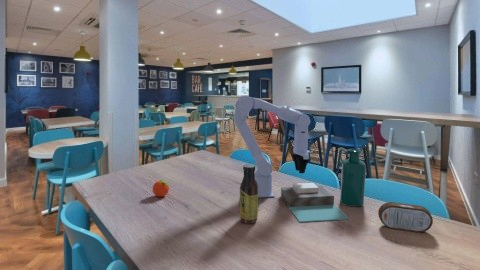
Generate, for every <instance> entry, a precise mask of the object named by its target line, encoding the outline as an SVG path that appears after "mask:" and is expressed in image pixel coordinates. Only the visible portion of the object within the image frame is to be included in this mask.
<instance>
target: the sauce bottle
mask: <svg viewBox="0 0 480 270" xmlns="http://www.w3.org/2000/svg"><path fill="white" fill-rule="evenodd" d="M242 170H243V177H242V181H241V183H240V186H239V218H240V219H239V220H240V221H241V222H242V223H243V224H254V223H256V222H257V221H258V211H259V197H258V184H257V182H256V180H255V179H254V178H255V173H256V164H251V163H246V164H244V165H242Z"/></svg>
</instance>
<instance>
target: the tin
mask: <svg viewBox="0 0 480 270" xmlns="http://www.w3.org/2000/svg"><path fill="white" fill-rule="evenodd" d="M377 213H378V214H377V215H378V218H379V220H380V222H381V223H382V224H383V226H385V227H387V228H389V229H393V230H394V229H395V230H400V231H406V232H407V231H408V232H414V233H425V232H427V231H428V230H430V229H431V228H432V226H433V223H434V218H433V217H432V214H431V212H430V211H429V209H428V208H426V207H424V206H421V205H418V204H409V203H403V202H394V201H389V202H386V203H383V204H381V206H380V207H379V209H378V212H377Z"/></svg>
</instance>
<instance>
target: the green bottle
mask: <svg viewBox="0 0 480 270" xmlns="http://www.w3.org/2000/svg"><path fill="white" fill-rule="evenodd" d="M342 152H344V154H349V155H348V157H349V158H348V159H347V158H346V159H343V157H342ZM362 152H363V151H362V149H358V148H349V149H346V148H344V147H341V146H340V147H339V158H340V162H341V178H340V181H341V182H340V198H339V199H340V201H339V202H340V204H342V205H344V206H350V207H358V208H359V207H360V208H361V207H363V206H364V205H365V204H364V203H365V190H366V176H367V175H366V174H367V166H366V163H365V162H364V161H363V160H361V159H360V153H362Z"/></svg>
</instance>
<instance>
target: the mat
mask: <svg viewBox="0 0 480 270" xmlns="http://www.w3.org/2000/svg"><path fill="white" fill-rule="evenodd" d="M288 208H289V210H290V211H291V213H292V214H293V215H294V217H295V218H296V219H297V221H298V222H299V223H310V222H311V223H312V222H314V223H315V222H329V221H330V222H331V221H347V220H350V217H348V215H346V214H345V213H344V212H342V211H341V209H339V208H338V207H337V206H336V205H335V204H334V205H317V206H298V207H288Z"/></svg>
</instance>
